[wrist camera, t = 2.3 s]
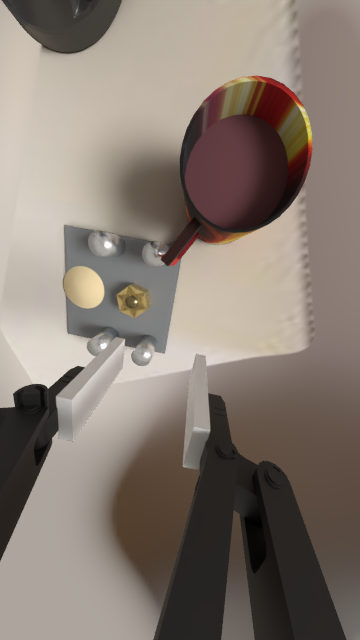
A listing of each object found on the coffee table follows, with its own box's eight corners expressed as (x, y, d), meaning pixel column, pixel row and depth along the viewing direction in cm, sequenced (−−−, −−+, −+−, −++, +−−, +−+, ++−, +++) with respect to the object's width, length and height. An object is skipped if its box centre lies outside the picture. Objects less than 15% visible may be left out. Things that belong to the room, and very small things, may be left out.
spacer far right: (141, 333, 33) (132, 346, 28) (158, 336, 32) (151, 350, 28) (140, 348, 34) (130, 363, 29) (156, 351, 33) (149, 367, 29)
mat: (63, 224, 28) (61, 224, 28) (183, 247, 28) (182, 247, 27) (66, 331, 34) (65, 332, 34) (164, 352, 34) (164, 353, 33)
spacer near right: (152, 241, 27) (143, 239, 23) (172, 245, 27) (167, 243, 23) (150, 262, 28) (140, 264, 24) (169, 266, 28) (163, 268, 24)
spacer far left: (103, 325, 33) (87, 337, 28) (119, 328, 33) (106, 341, 28) (102, 340, 34) (86, 354, 29) (118, 344, 34) (105, 358, 29)
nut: (121, 284, 30) (114, 286, 28) (147, 282, 29) (143, 284, 27) (126, 314, 32) (121, 318, 29) (152, 312, 31) (148, 317, 29)
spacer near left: (106, 233, 28) (88, 228, 23) (126, 236, 28) (111, 233, 23) (105, 254, 29) (87, 254, 24) (124, 257, 29) (110, 258, 24)
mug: (170, 263, 28) (154, 265, 17) (197, 153, 24) (201, 56, 12) (231, 281, 28) (257, 295, 17) (269, 175, 24) (339, 99, 13)
